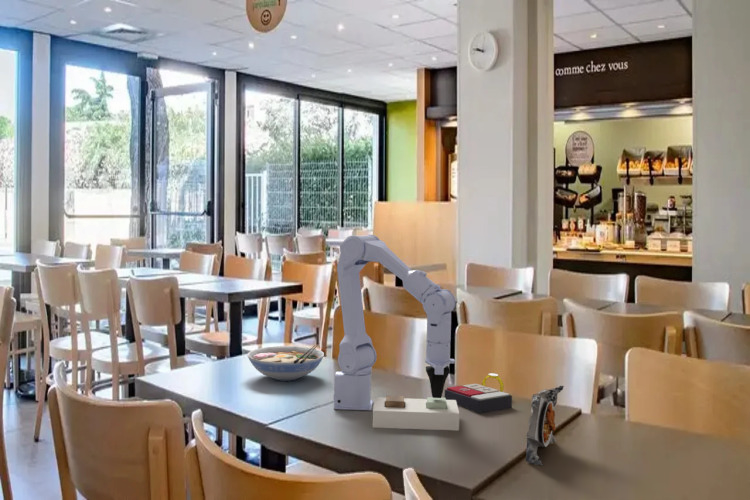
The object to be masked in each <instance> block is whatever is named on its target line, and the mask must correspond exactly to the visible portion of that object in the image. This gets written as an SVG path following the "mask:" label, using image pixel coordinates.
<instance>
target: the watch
mask: <svg viewBox="0 0 750 500" xmlns="http://www.w3.org/2000/svg"><path fill="white" fill-rule="evenodd" d="M488 378H490V379H496V380H497V381H498V383H499V387H500V389H499V392H504V388H505V387H504V386H505V385H504V381H503V379H501V377H500V376H499V374H497V373H491V372H490V373H488V374H487V375H486V376H485V377H484V378H483V379H482V382H481V385H482V386H486V381H487V379H488Z"/></svg>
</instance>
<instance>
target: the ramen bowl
mask: <svg viewBox="0 0 750 500" xmlns="http://www.w3.org/2000/svg"><path fill="white" fill-rule="evenodd" d="M324 353H325V352H323V351H322V350H321V349H318V348H317V346H315V345H314V346H312V347H309V346H297V345H280V346H279V345H278V346H266V347H261V348H256V349H253V350H251V351H248V353H247V355H246V356H247V358H248V360H249V362H250V363H251V364H252V366H253V367H254V368H255V369H256V370H257V371H258V372H259V373H261V374H262V375H263V376H266V377H269V378H272V379H274V380H275V381H279V382H280V381H282V382H288V381H289V382H291V381H296V380H298V379H299V378H302V377H304V376H306V375H308V374H311V373H312V372H314V371H315V370H316V369H317V368H318V367H319V365H320V363H322V360H323V359H324V355H325V354H324Z"/></svg>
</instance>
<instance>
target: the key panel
mask: <svg viewBox="0 0 750 500" xmlns="http://www.w3.org/2000/svg"><path fill="white" fill-rule="evenodd" d="M446 402H447V407H446V409H427V398H409V397H408V398H407V397H406V398H405V397H404V408H393V407H386V397H378V396H377V397H374V401H373V403H374V404H373V407H372V428H373V429H374V428H375V429H376V428H378V429H402V430H403V429H405V430H408V429H409V430H431V431H432V430H433V431H460V411H459V405H457V402H456V400H446Z"/></svg>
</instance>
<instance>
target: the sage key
mask: <svg viewBox="0 0 750 500" xmlns="http://www.w3.org/2000/svg"><path fill="white" fill-rule="evenodd" d="M426 399H427V409H446V407H447V402H446V398H445V397H441V398H433V397H432V396H427V397H426Z"/></svg>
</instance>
